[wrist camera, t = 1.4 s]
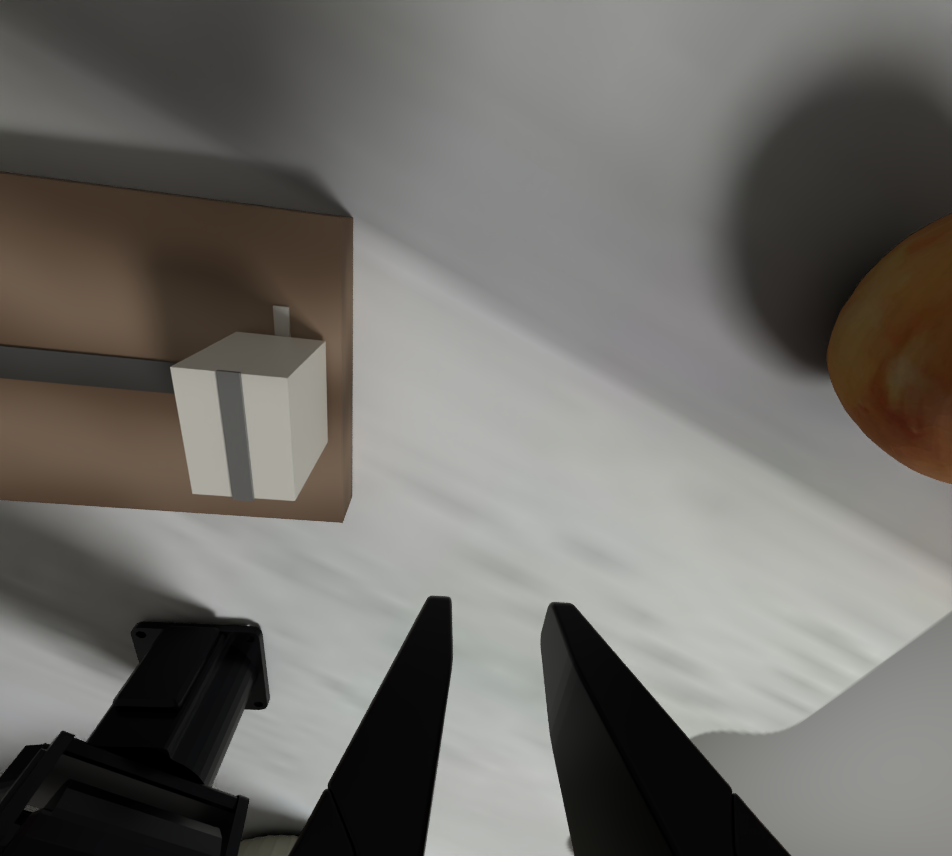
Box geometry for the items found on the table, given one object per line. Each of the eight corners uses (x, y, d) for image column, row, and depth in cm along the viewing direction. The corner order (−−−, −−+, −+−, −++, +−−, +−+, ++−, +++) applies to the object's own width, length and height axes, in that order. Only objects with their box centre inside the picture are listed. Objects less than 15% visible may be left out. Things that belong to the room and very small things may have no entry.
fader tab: (327, 443, 17) (294, 504, 14) (247, 436, 17) (191, 496, 13) (325, 339, 16) (286, 377, 12) (236, 330, 15) (167, 366, 12)
